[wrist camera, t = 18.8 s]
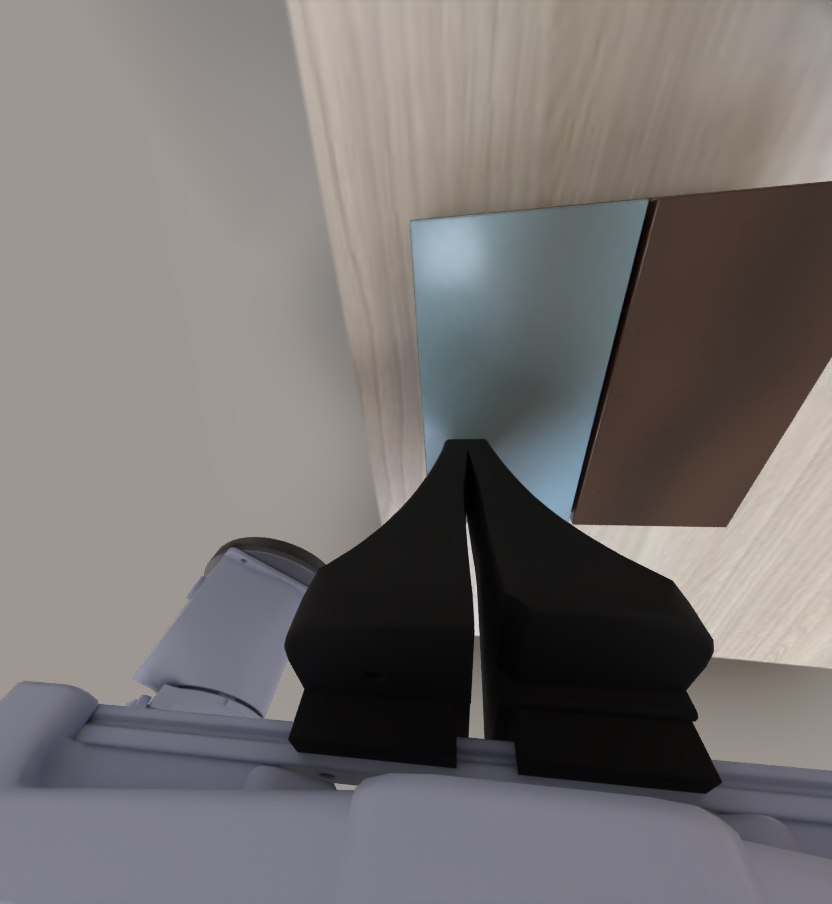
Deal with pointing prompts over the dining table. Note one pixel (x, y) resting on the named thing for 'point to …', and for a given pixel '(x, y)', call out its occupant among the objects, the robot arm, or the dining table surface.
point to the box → (709, 354)
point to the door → (521, 332)
